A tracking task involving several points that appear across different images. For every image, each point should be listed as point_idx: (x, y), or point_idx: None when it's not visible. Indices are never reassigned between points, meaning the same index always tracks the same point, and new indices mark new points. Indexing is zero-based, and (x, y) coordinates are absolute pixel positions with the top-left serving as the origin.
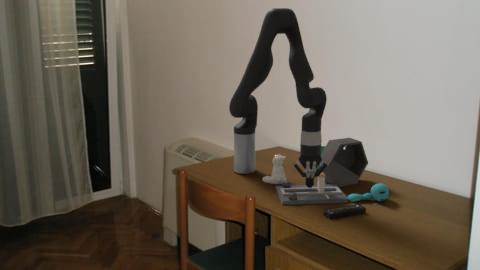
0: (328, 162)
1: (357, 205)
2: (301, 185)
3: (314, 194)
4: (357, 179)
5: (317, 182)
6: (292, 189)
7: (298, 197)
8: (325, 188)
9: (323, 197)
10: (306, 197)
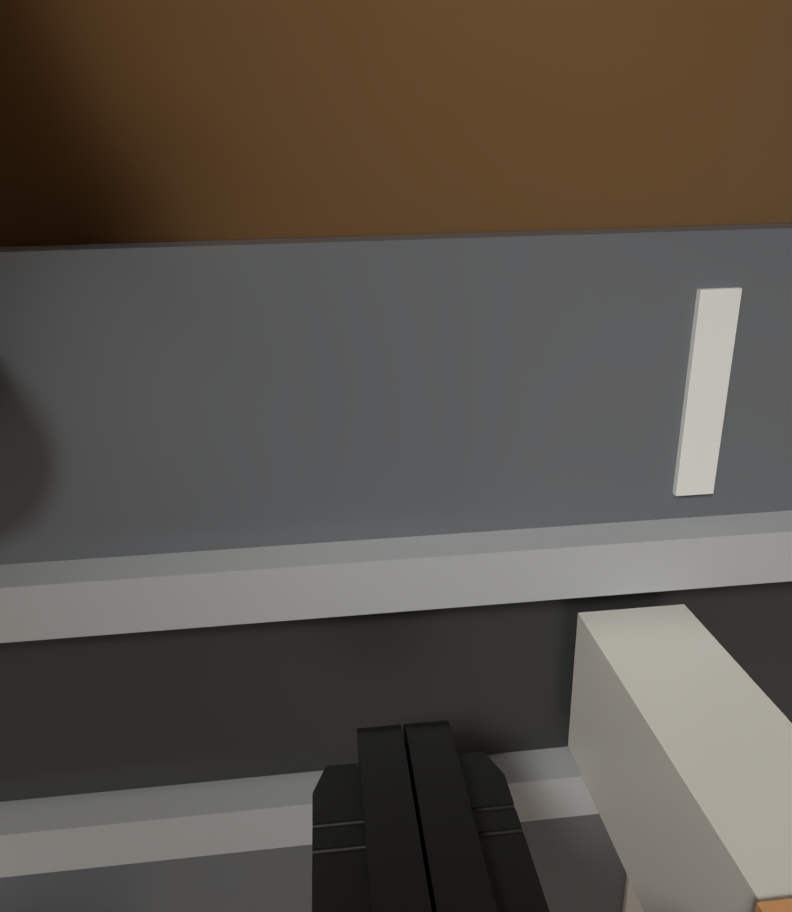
0: None
1: None
2: (285, 265)
3: None
4: None
5: (642, 717)
6: (29, 633)
7: (153, 910)
8: (757, 575)
9: (574, 885)
10: (294, 901)
